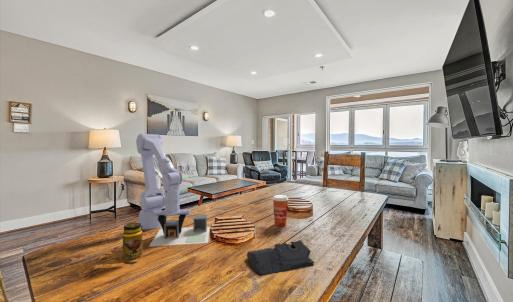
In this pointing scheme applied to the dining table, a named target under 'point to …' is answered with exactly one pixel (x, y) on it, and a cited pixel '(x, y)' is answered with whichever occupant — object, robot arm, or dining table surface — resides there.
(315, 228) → the dining table surface
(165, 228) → the left cover
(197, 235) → the board
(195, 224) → the right cover
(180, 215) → the robot arm
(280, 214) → the paper cup
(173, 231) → the letter cube
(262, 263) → the folded black cloth
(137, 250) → the condiment
